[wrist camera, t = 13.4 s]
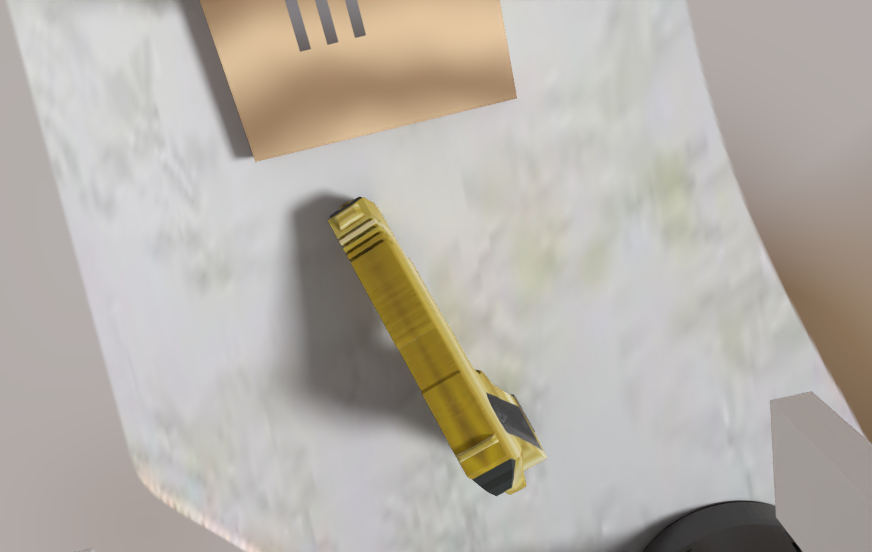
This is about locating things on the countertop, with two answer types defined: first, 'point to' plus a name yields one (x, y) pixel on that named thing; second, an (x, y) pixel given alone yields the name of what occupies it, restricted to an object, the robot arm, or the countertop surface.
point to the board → (355, 65)
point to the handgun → (438, 357)
